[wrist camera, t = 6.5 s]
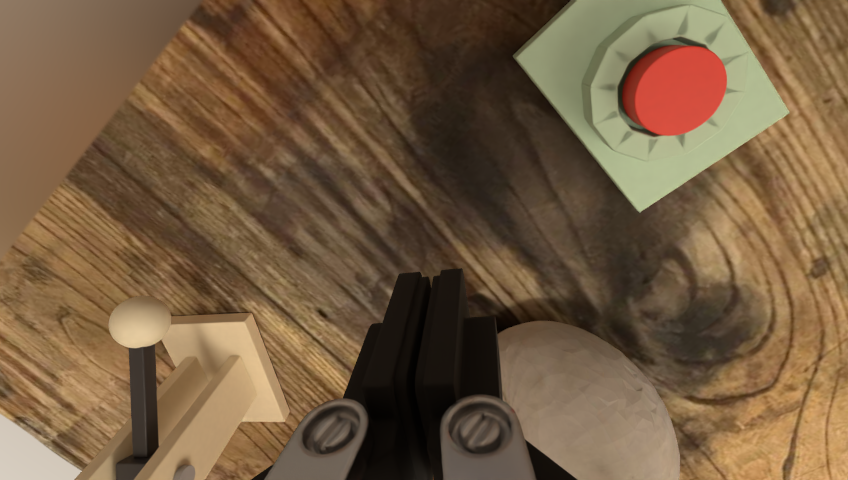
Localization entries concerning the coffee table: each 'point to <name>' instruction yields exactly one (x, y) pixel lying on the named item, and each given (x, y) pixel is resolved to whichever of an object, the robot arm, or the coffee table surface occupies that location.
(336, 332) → the coffee table surface
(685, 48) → the button
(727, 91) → the button block
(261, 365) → the bracket
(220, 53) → the coffee table surface
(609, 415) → the seashell
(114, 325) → the lever
